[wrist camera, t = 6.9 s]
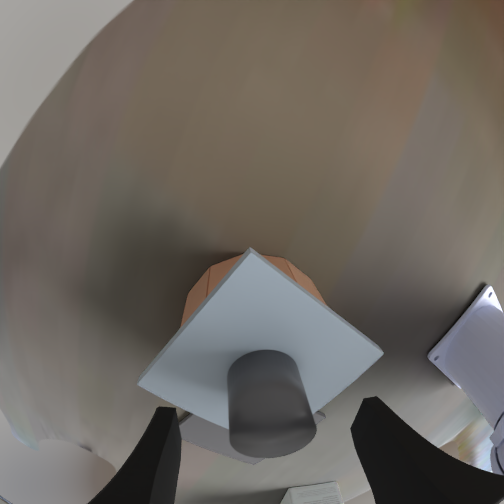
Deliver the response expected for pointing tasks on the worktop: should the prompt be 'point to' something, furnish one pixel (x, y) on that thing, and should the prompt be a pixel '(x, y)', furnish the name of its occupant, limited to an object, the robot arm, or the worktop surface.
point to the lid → (260, 359)
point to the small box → (314, 494)
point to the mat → (217, 436)
